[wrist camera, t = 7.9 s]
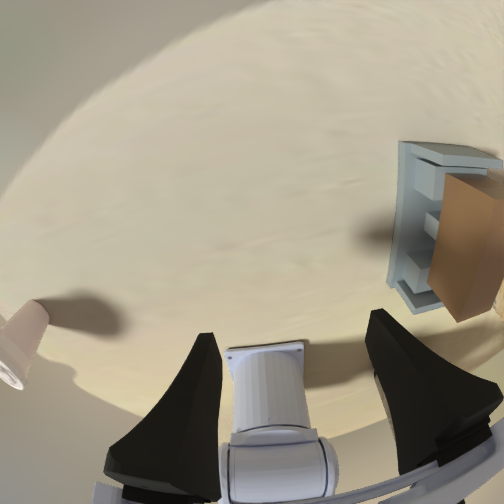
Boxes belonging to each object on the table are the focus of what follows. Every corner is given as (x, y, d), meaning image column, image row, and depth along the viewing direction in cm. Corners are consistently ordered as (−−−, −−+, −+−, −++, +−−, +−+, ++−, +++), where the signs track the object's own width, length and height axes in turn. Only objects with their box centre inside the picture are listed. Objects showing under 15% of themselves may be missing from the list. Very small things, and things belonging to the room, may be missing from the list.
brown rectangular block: (459, 274, 19) (490, 309, 14) (426, 282, 19) (457, 322, 14) (479, 173, 14) (525, 198, 10) (445, 172, 14) (494, 199, 10)
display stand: (449, 269, 22) (474, 297, 18) (386, 281, 23) (408, 316, 19) (468, 146, 16) (506, 160, 12) (398, 140, 17) (437, 154, 12)
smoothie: (25, 281, 22) (-40, 372, 10) (65, 318, 24) (13, 419, 12) (15, 306, 24) (-36, 386, 12) (50, 338, 26) (8, 424, 14)
